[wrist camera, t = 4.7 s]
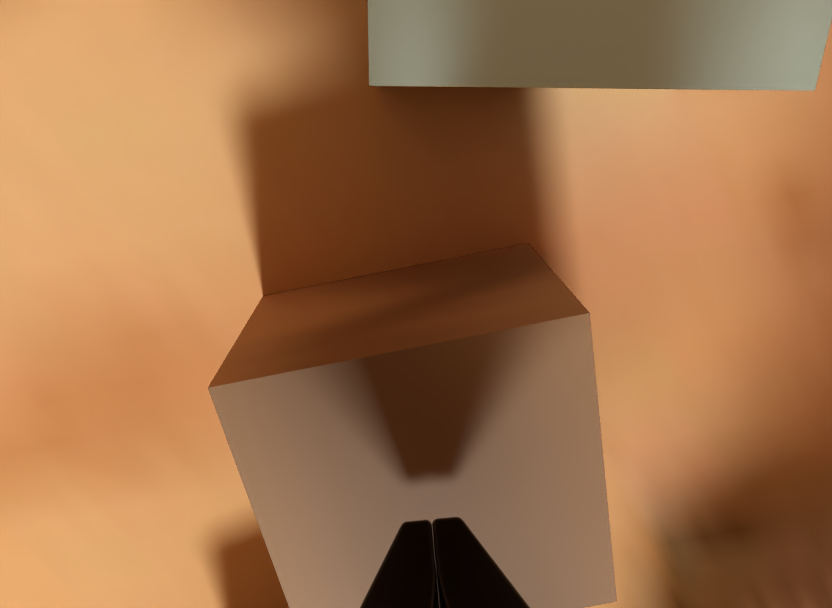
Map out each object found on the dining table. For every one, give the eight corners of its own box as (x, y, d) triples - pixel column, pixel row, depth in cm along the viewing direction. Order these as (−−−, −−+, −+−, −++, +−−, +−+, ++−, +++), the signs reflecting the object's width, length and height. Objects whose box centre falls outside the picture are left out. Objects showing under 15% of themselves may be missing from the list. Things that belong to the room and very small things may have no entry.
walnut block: (526, 240, 12) (589, 312, 8) (555, 461, 14) (617, 601, 10) (264, 293, 12) (207, 388, 8) (329, 503, 14) (307, 657, 10)
